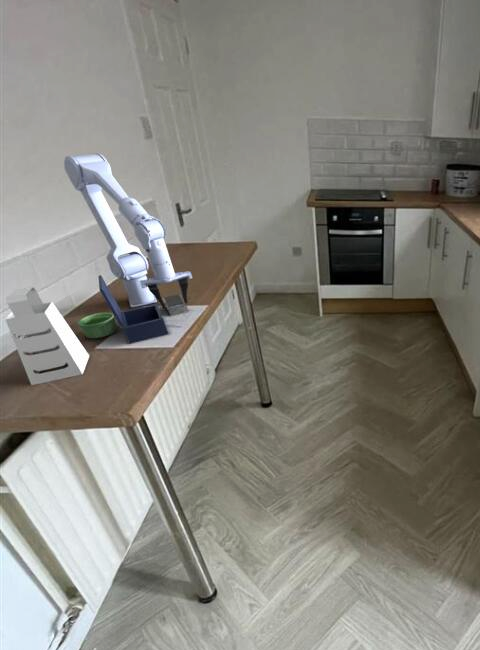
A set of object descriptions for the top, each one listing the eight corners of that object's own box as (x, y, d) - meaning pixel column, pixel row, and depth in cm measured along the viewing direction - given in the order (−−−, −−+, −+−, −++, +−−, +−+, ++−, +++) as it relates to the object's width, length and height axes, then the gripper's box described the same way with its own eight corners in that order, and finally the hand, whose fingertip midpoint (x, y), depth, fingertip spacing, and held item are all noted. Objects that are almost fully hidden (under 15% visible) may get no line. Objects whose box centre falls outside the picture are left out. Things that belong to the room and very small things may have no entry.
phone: (165, 306, 137) (162, 297, 136) (182, 302, 140) (179, 293, 138) (170, 315, 130) (166, 306, 128) (187, 311, 132) (184, 302, 131)
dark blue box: (162, 318, 129) (156, 303, 126) (168, 333, 118) (163, 318, 116) (126, 326, 125) (120, 312, 122) (129, 343, 114) (123, 328, 112)
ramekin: (87, 330, 123) (80, 316, 121) (120, 323, 126) (115, 310, 124) (81, 342, 116) (74, 327, 114) (117, 335, 119) (111, 320, 117)
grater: (31, 385, 98) (-18, 304, 87) (42, 365, 106) (-1, 289, 95) (82, 374, 101) (41, 294, 90) (89, 355, 109) (52, 281, 98)
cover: (101, 275, 116) (98, 275, 116) (102, 288, 105) (99, 289, 105) (120, 310, 122) (118, 311, 122) (123, 326, 112) (121, 327, 111)
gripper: (135, 270, 121) (152, 314, 128) (188, 260, 127) (200, 302, 134) (133, 264, 126) (149, 307, 133) (184, 255, 132) (196, 296, 139)
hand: (175, 304), depth 134 cm, fingers open, 6 cm apart
